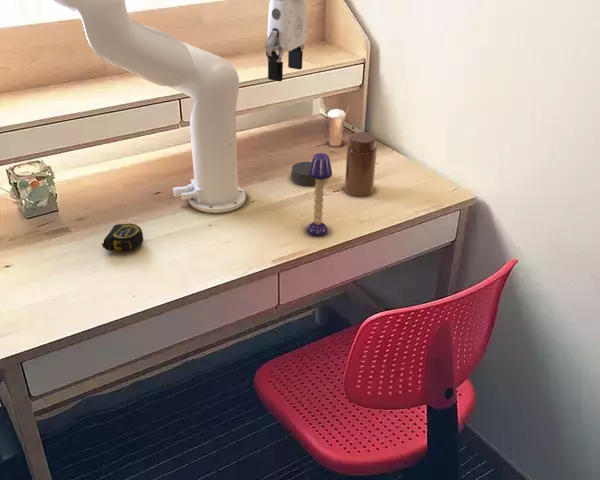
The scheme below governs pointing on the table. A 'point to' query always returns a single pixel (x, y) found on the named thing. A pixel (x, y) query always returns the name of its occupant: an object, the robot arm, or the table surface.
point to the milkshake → (336, 126)
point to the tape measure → (123, 238)
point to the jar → (360, 164)
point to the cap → (302, 174)
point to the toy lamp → (319, 191)
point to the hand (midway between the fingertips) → (285, 74)
